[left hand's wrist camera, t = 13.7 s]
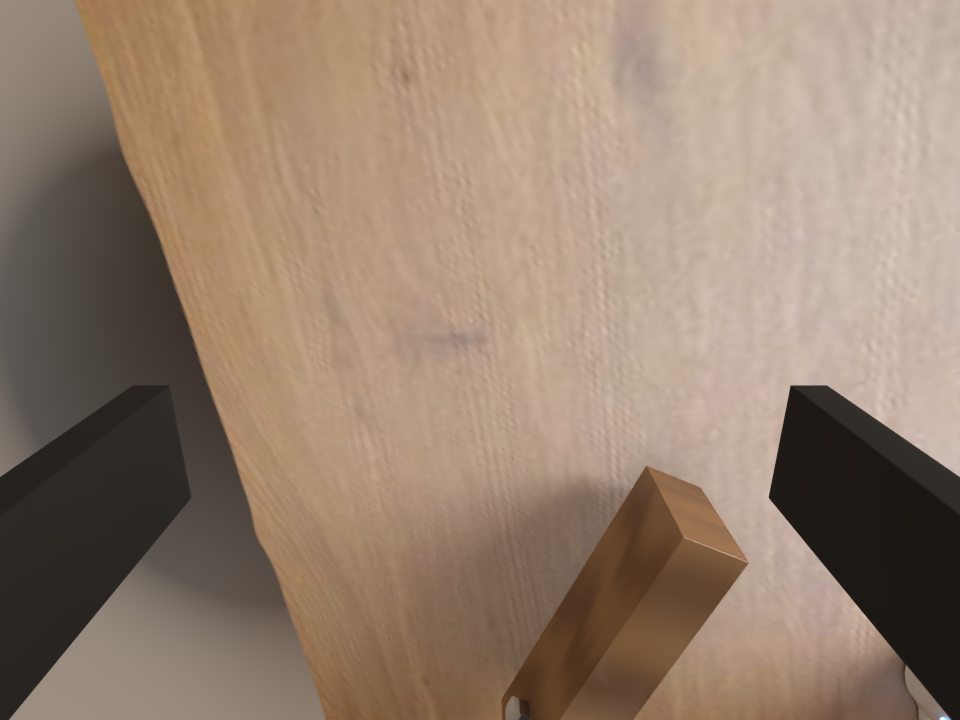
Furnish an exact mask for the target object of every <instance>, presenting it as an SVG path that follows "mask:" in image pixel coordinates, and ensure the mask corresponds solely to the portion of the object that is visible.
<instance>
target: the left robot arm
mask: <svg viewBox="0 0 960 720" xmlns="http://www.w3.org/2000/svg"><path fill="white" fill-rule="evenodd" d="M190 499H191V494H190V489H189V484H188V479H187V473H186V469H185V463H184V458H183V453H182V448H181V443H180V438H179V433H178V428H177V423H176V417H175V412H174V408H173V402H172V397H171V392H170V387H169V386H132V387H130V388H129V389H127V390H126V391H124V392H123V393H121V394H120V395H119V396H117V397H116V398H114V399H113V400H111V401H110V402H108V403H107V404H106V405H104V406H103V407H101V408H100V409H98V410H97V411H95V412H94V413H92V414H91V415H90V416H88V417H87V418H85V419H84V420H82V421H81V422H79V423H78V424H76V425H75V426H74V427H72V428H71V429H69V430H68V431H66V432H65V433H63V434H62V435H61V436H59V437H58V438H56V439H55V440H53V441H52V442H50V443H49V444H48V445H46V446H45V447H43V448H42V449H40V450H39V451H37V452H36V453H35V454H33V455H32V456H30V457H29V458H27V459H26V460H24V461H23V462H21V463H20V464H19V465H17V466H16V467H14V468H13V469H11V470H10V471H8V472H7V473H5V474H4V475H3V476H1V477H0V720H9V719H10V718H11V717H12V715H13V714H14V713H15V712H16V710H17V709H18V708H19V707H20V706H21V704H22V703H23V702H24V701H25V699H26V698H27V697H28V696H29V695H30V693H31V692H32V691H33V690H34V689H35V687H36V686H37V685H38V684H39V682H40V681H41V680H42V679H43V678H44V676H45V675H46V674H47V673H48V672H49V670H50V669H51V668H52V667H53V665H54V664H55V663H56V662H57V660H58V659H59V658H60V657H61V656H62V654H63V653H64V652H65V651H66V650H67V648H68V647H69V646H70V645H71V644H72V642H73V641H74V640H75V639H76V637H77V636H78V635H79V634H80V633H81V631H82V630H83V629H84V628H85V626H86V625H87V624H88V623H89V622H90V620H91V619H92V618H93V617H94V616H95V614H96V613H97V612H98V611H99V609H100V608H101V607H102V606H103V605H104V603H105V602H106V601H107V600H108V598H109V597H110V596H111V595H112V594H113V592H114V591H115V590H116V589H117V587H118V586H119V585H120V584H121V583H122V581H123V580H124V579H125V578H126V577H127V575H128V574H129V573H130V572H131V570H132V569H133V568H134V567H135V566H136V564H137V563H138V562H139V561H140V559H141V558H142V557H143V556H144V555H145V553H146V552H147V551H148V550H149V548H150V547H151V546H152V545H153V544H154V542H155V541H156V540H157V539H158V538H159V536H160V535H161V534H162V533H163V531H164V530H165V529H166V528H167V527H168V525H169V524H170V523H171V522H172V520H173V519H174V518H175V517H176V516H177V514H178V513H179V512H180V511H181V510H182V508H183V507H184V506H185V505H186V503H187V502H188V501H189V500H190ZM769 499H770V500H771V501H772V502H773V504H774V505H775V506H776V507H777V508H778V510H779V511H780V512H781V513H782V514H783V516H784V517H785V518H786V519H787V521H788V522H789V523H790V524H791V525H792V527H793V528H794V529H795V530H796V532H797V533H798V534H799V535H800V536H801V538H802V539H803V540H804V541H805V542H806V544H807V545H808V546H809V547H810V549H811V550H812V551H813V552H814V553H815V555H816V556H817V557H818V558H819V560H820V561H821V562H822V563H823V564H824V566H825V567H826V568H827V569H828V570H829V572H830V573H831V574H832V575H833V577H834V578H835V579H836V580H837V581H838V583H839V584H840V585H841V586H842V588H843V589H844V590H845V591H846V592H847V594H848V595H849V596H850V597H851V598H852V600H853V601H854V602H855V603H856V605H857V606H858V607H859V608H860V609H861V611H862V612H863V613H864V614H865V616H866V617H867V618H868V619H869V620H870V622H871V623H872V624H873V625H874V626H875V628H876V629H877V630H878V631H879V633H880V634H881V635H882V636H883V637H884V639H885V640H886V641H887V642H888V644H889V645H890V646H891V647H892V648H893V650H894V651H895V652H896V653H897V654H898V656H899V657H900V658H901V659H902V661H903V662H904V663H905V664H906V665H907V667H908V668H909V669H910V670H911V672H912V673H913V674H914V675H915V676H916V678H917V679H918V680H919V681H920V682H921V684H922V685H923V686H924V687H925V689H926V690H927V691H928V692H929V693H930V695H931V696H932V697H933V698H934V700H935V701H936V702H937V703H938V704H939V706H940V707H941V708H942V709H943V710H944V712H945V713H946V714H947V715H948V717H949V718H950V719H951V720H960V477H959V476H957V475H956V474H955V473H953V472H952V471H950V470H949V469H947V468H946V467H944V466H943V465H941V464H940V463H939V462H937V461H936V460H934V459H933V458H931V457H930V456H928V455H927V454H926V453H924V452H923V451H921V450H920V449H918V448H917V447H915V446H914V445H912V444H911V443H910V442H908V441H907V440H905V439H904V438H902V437H901V436H899V435H898V434H897V433H895V432H894V431H892V430H891V429H889V428H888V427H886V426H885V425H883V424H882V423H881V422H879V421H878V420H876V419H875V418H873V417H872V416H870V415H869V414H868V413H866V412H865V411H863V410H862V409H860V408H859V407H857V406H856V405H855V404H853V403H852V402H850V401H849V400H847V399H846V398H844V397H843V396H841V395H840V394H839V393H837V392H836V391H834V390H833V389H831V388H830V387H828V386H791V387H790V392H789V397H788V402H787V407H786V412H785V417H784V423H783V428H782V433H781V438H780V443H779V448H778V453H777V458H776V463H775V468H774V473H773V479H772V484H771V489H770V494H769Z"/></svg>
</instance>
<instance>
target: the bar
mask: <svg viewBox="0 0 960 720" xmlns="http://www.w3.org/2000/svg"><path fill="white" fill-rule="evenodd" d="M748 563H749V562H748V560H747V559H746V557H745V556H744V554H743V553H742V551H741V549H740V548H739V546H738V545H737V543H736V542H735V540H734V539H733V537H732V535H731V534H730V532H729V531H728V529H727V528H726V526H725V525H724V523H723V521H722V520H721V518H720V517H719V515H718V514H717V512H716V511H715V509H714V508H713V506H712V504H711V503H710V501H709V500H708V498H707V497H706V495H705V494H704V492H703V490H702V489H701V488H700V487H697V486H695V485H692V484H690V483H687V482H685V481H682V480H680V479H677V478H675V477H672V476H670V475H667V474H665V473H663V472H660V471H658V470H655V469H653V468H650V467H648V466H646V467H645V469H644V471H643V472H642V474H641V475H640V477H639V479H638V480H637V482H636V483H635V485H634V487H633V488H632V490H631V492H630V493H629V495H628V496H627V498H626V500H625V501H624V503H623V504H622V506H621V508H620V509H619V511H618V512H617V514H616V516H615V517H614V519H613V521H612V522H611V524H610V525H609V527H608V529H607V530H606V532H605V533H604V535H603V537H602V538H601V540H600V542H599V543H598V545H597V546H596V548H595V550H594V551H593V553H592V554H591V556H590V558H589V559H588V561H587V563H586V564H585V566H584V567H583V569H582V571H581V572H580V574H579V575H578V577H577V579H576V580H575V582H574V583H573V585H572V587H571V588H570V590H569V592H568V593H567V595H566V596H565V598H564V600H563V601H562V603H561V604H560V606H559V608H558V609H557V611H556V613H555V614H554V616H553V617H552V619H551V621H550V622H549V624H548V625H547V627H546V629H545V630H544V632H543V633H542V635H541V637H540V638H539V640H538V642H537V643H536V645H535V646H534V648H533V650H532V651H531V653H530V654H529V656H528V658H527V659H526V661H525V663H524V664H523V666H522V667H521V669H520V671H519V672H518V674H517V675H516V677H515V679H514V680H513V682H512V683H511V685H510V687H509V688H508V690H507V692H506V693H505V695H504V696H503V698H502V720H506V718H505V709H506V705H507V703H508V702H509V700H510V699H511V697H512V696H514V697H517V698H520V699H523V700H526V701H528V704H529V706H528V709H529V715H530V717H529V719H528V720H633V719H634V718H635V716H636V715H637V714H638V712H639V711H640V710H641V708H642V707H643V705H644V704H645V703H646V701H647V700H648V699H649V697H650V696H651V695H652V693H653V692H654V691H655V689H656V688H657V686H658V685H659V684H660V682H661V681H662V680H663V678H664V677H665V676H666V674H667V673H668V672H669V670H670V669H671V668H672V666H673V665H674V663H675V662H676V661H677V659H678V658H679V657H680V655H681V654H682V653H683V651H684V650H685V649H686V647H687V646H688V644H689V643H690V642H691V640H692V639H693V638H694V636H695V635H696V634H697V632H698V631H699V630H700V628H701V627H702V626H703V624H704V623H705V621H706V620H707V619H708V617H709V616H710V615H711V613H712V612H713V611H714V609H715V608H716V607H717V605H718V604H719V602H720V601H721V600H722V598H723V597H724V596H725V594H726V593H727V592H728V590H729V589H730V588H731V586H732V585H733V583H734V582H735V581H736V579H737V578H738V577H739V575H740V574H741V573H742V571H743V570H744V569H745V567H746V566H747V565H748Z"/></svg>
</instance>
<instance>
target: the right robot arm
mask: <svg viewBox="0 0 960 720" xmlns="http://www.w3.org/2000/svg"><path fill="white" fill-rule="evenodd" d="M905 684H906V687H907V689H908V691H909V693H910V695H911V696H912V697H913V699H914V700H915V701H916V703H917V705H918V718H919V720H951V719H950V718H949V717H948V715H947V714H946V713H945V712H944V710H943V709H942V708H941V707H940V706H939V704H938V703H937V702H936V701H935V700H934V698H933V697H932V696H931V695H930V693H929V692H928V691H927V690H926V689H925V687H924V686H923V685H922V684H921V682H920V681H919V680H918V679H917V678H916V676H915V675H914V674H913V673H912V672H911V670H910V669H909V668H908V667H907V665H906V666H905ZM528 706H529V704H528V701H526V700H523V699H520V698H517V697H514V696H512V697H511V699H510V700H509V702H508V703H507V705H506V709H505V718H506V720H528V719H529V717H530V715H529V709H528Z"/></svg>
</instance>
